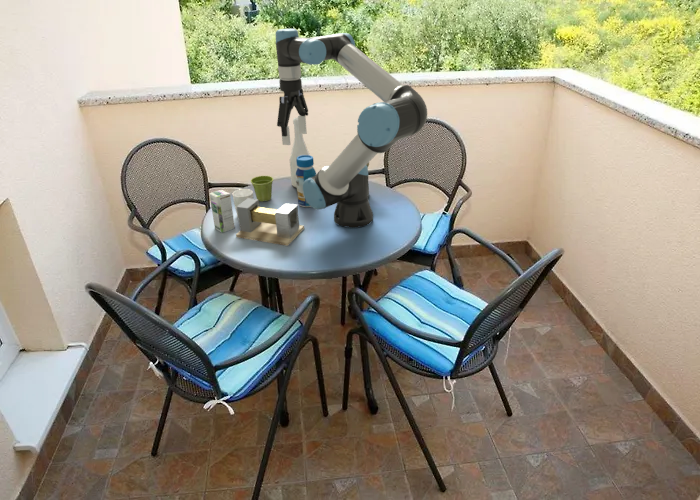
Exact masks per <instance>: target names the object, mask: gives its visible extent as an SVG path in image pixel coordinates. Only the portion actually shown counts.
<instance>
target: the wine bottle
mask: <svg viewBox="0 0 700 500" xmlns="http://www.w3.org/2000/svg"><path fill="white" fill-rule="evenodd" d="M292 123H293V130H294V131H293V133H294V140H293V144H292V147H291V153H290V156H289V167H290V169H289V170H290V181H291V185H292V187H294V188H296V189H297V183H296V178H297V176H296V171H297V169H298V166H297V161H296V159H297V157H298V156H301V155H310V156H311V154H310V152H309V150H308V147H307V145H306V143H305V140H304V137H303V135H304V134H299V124H298V116H297V117H294V118H293V120H292Z"/></svg>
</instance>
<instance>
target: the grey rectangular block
mask: <svg viewBox="0 0 700 500" xmlns="http://www.w3.org/2000/svg"><path fill="white" fill-rule="evenodd" d="M298 206H299V204H294V203H287V202H286V203H283V205H281V206H280V207H279V208H278V209H277V211H276V212H275V218H276V227H277V237H282V238H288V239H290V238H291V237H292V236H293V235H294V234H295V233H296V232H297V231H298V230H299V225H300V221H299V220H300V219H299V218H300V217H299V207H298Z"/></svg>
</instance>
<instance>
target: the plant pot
mask: <svg viewBox="0 0 700 500" xmlns="http://www.w3.org/2000/svg"><path fill="white" fill-rule="evenodd" d="M273 181H274V177H272V176H270V175H259V176H255V177H253V178H251V179H250V183H251V185H252V186H253V190H254V193H255V196H256V199H258V200H259V202H265V201H266V202H268V201H270V200H272V195H273V194H272V193H273V192H272V190H273Z"/></svg>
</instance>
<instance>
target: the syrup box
mask: <svg viewBox="0 0 700 500" xmlns="http://www.w3.org/2000/svg"><path fill="white" fill-rule="evenodd" d="M209 199H210V200H209V201H210V206H211V212H212V218H213V225H214V229H215V230H217V231H219V232H220V233H222V234H223V233H227V232H229V231H231V230H233V229H235V228H236V227H235V218H234V211H233V205H232V197H231V193H230V192H227V191H225V190H223V189H220V190H216V191H212V192H210V193H209Z"/></svg>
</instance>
